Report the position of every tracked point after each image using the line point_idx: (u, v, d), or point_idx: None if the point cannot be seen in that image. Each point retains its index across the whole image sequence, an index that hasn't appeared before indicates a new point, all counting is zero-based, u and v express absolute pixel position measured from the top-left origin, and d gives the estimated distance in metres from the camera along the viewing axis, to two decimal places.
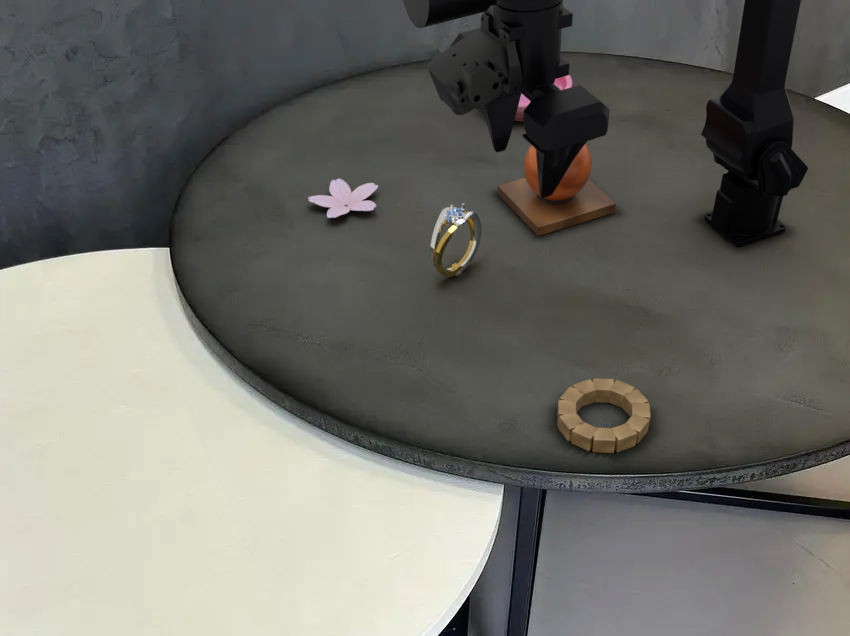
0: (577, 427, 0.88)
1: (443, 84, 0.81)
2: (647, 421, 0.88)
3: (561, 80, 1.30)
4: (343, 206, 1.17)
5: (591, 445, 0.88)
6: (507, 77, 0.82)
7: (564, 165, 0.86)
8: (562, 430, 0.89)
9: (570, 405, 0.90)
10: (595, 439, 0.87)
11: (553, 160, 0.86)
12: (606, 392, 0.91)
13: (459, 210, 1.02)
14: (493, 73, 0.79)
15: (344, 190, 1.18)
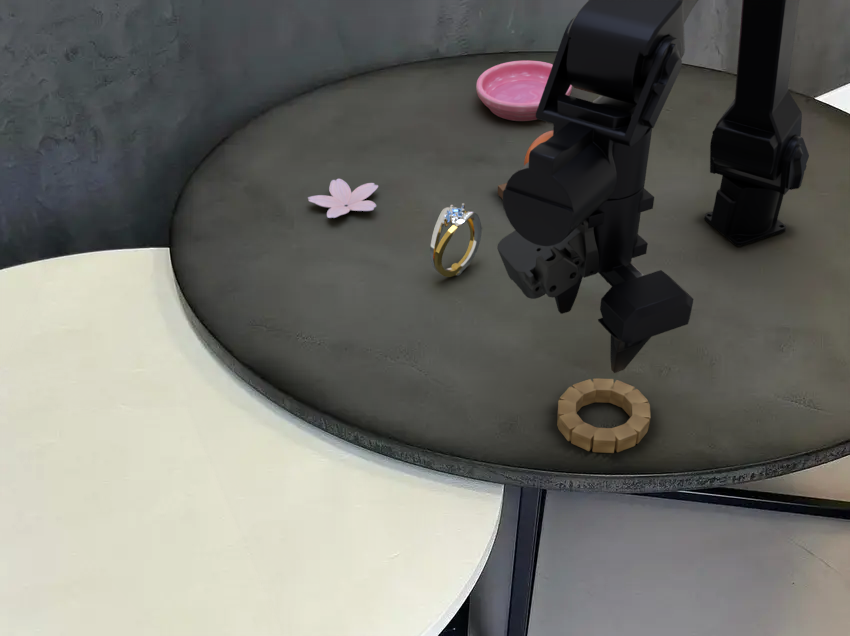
0: (577, 427, 0.88)
1: (516, 271, 0.76)
2: (647, 421, 0.88)
3: None
4: (343, 206, 1.17)
5: (591, 445, 0.88)
6: (583, 262, 0.77)
7: (640, 344, 0.82)
8: (562, 430, 0.89)
9: (570, 405, 0.90)
10: (595, 439, 0.87)
11: None
12: (606, 392, 0.91)
13: (459, 210, 1.02)
14: (571, 264, 0.74)
15: (344, 190, 1.18)
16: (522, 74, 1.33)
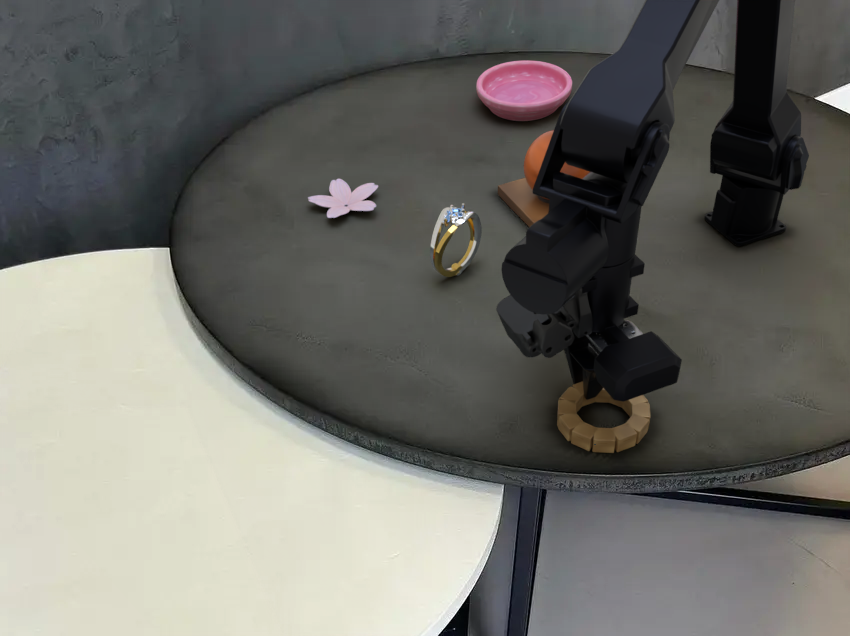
0: (577, 427, 0.88)
1: (514, 332, 0.81)
2: (647, 421, 0.88)
3: (561, 80, 1.30)
4: (343, 206, 1.17)
5: (591, 445, 0.88)
6: (578, 324, 0.81)
7: None
8: (562, 430, 0.89)
9: (570, 405, 0.90)
10: (595, 439, 0.87)
11: None
12: (606, 392, 0.91)
13: (459, 210, 1.02)
14: (566, 327, 0.79)
15: (344, 190, 1.18)
16: (522, 74, 1.33)
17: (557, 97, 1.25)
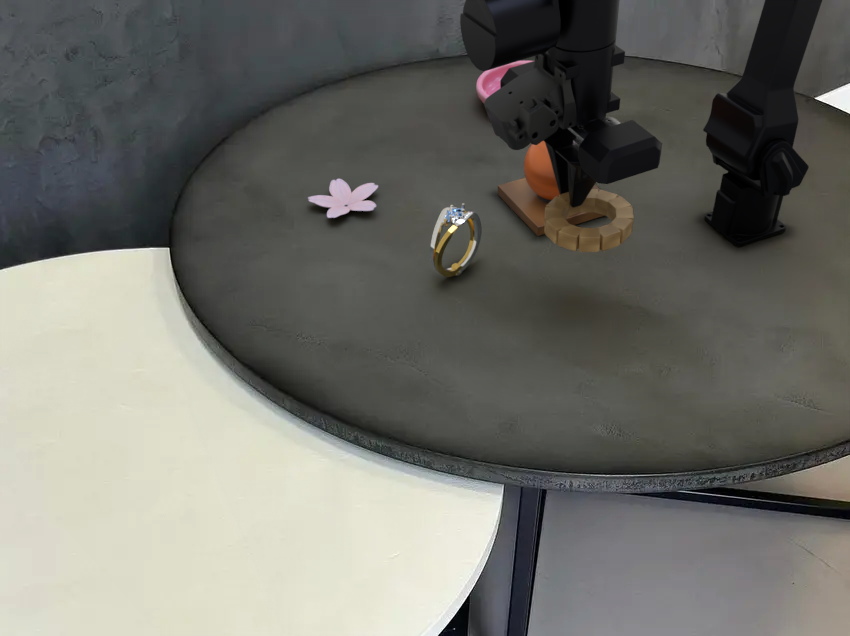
0: (563, 228, 0.92)
1: (501, 121, 0.84)
2: (630, 221, 0.92)
3: None
4: (343, 206, 1.17)
5: (577, 245, 0.91)
6: (562, 113, 0.85)
7: None
8: (549, 234, 0.93)
9: (556, 211, 0.93)
10: (581, 237, 0.90)
11: (584, 172, 0.91)
12: (591, 200, 0.95)
13: (459, 210, 1.02)
14: (551, 111, 0.82)
15: (344, 190, 1.18)
16: None
17: None
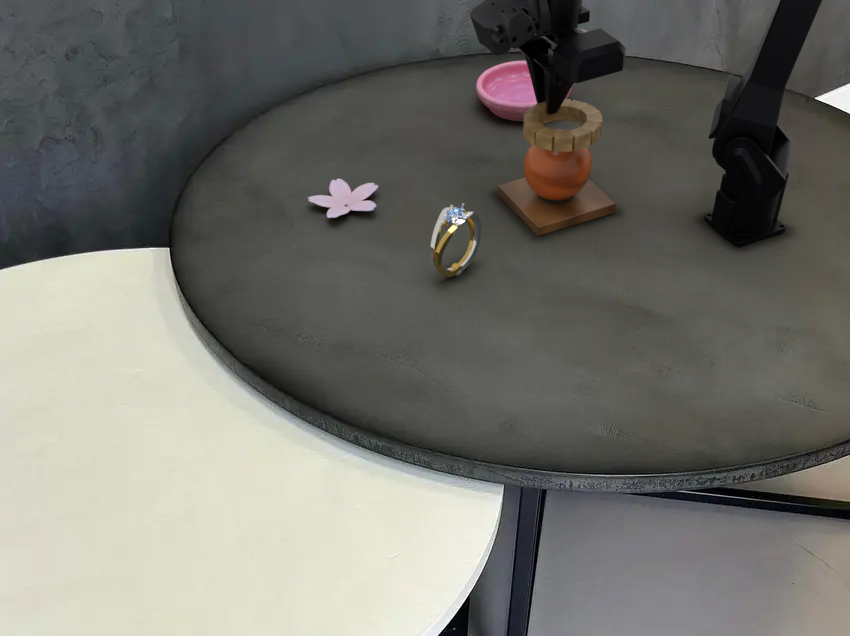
0: (540, 130, 1.03)
1: (485, 28, 0.96)
2: (599, 124, 1.03)
3: None
4: (343, 206, 1.17)
5: (552, 145, 1.03)
6: (538, 22, 0.96)
7: (567, 85, 1.03)
8: (527, 137, 1.04)
9: (534, 117, 1.05)
10: (556, 137, 1.02)
11: (558, 80, 1.03)
12: (565, 108, 1.06)
13: (459, 210, 1.02)
14: (528, 17, 0.94)
15: (344, 190, 1.18)
16: (522, 74, 1.33)
17: None
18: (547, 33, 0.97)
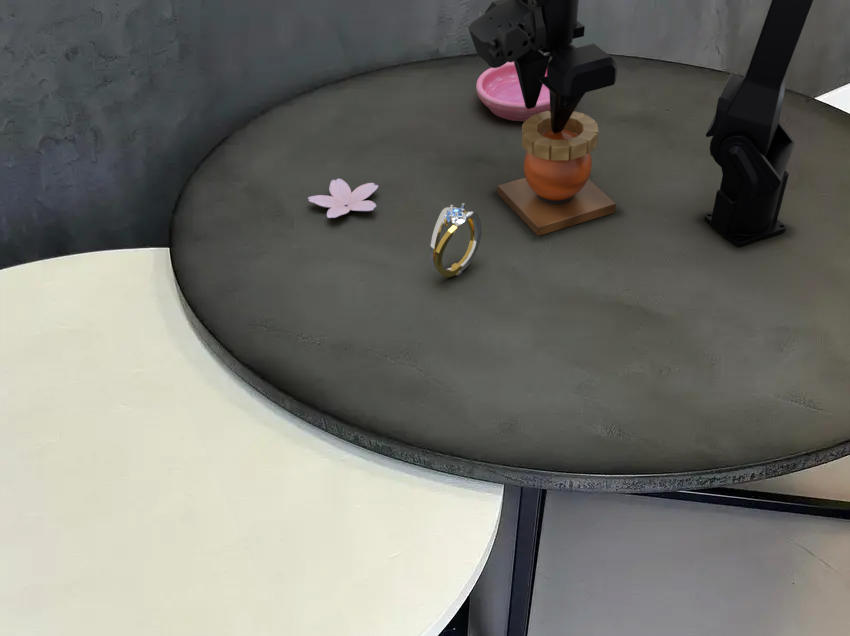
0: (538, 140, 1.06)
1: (482, 42, 0.99)
2: (595, 134, 1.07)
3: None
4: (343, 206, 1.17)
5: (550, 154, 1.06)
6: (534, 36, 1.00)
7: (572, 105, 1.06)
8: (526, 146, 1.08)
9: (532, 127, 1.08)
10: (553, 146, 1.05)
11: (563, 100, 1.05)
12: None
13: (459, 210, 1.02)
14: (523, 32, 0.97)
15: (344, 190, 1.18)
16: None
17: None
18: (542, 47, 1.01)
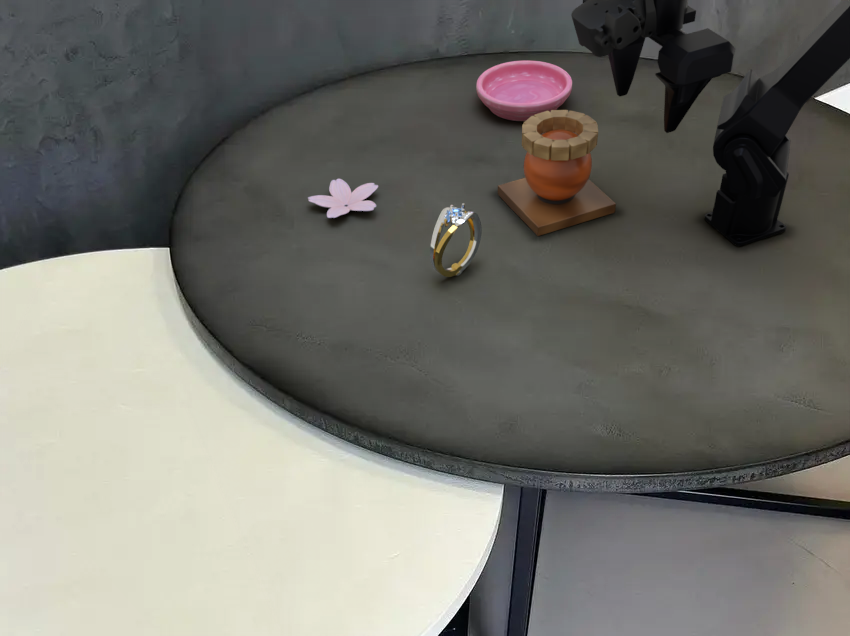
0: (538, 140, 1.06)
1: (588, 29, 0.93)
2: (595, 134, 1.07)
3: (561, 80, 1.30)
4: (343, 206, 1.17)
5: (550, 154, 1.06)
6: (644, 22, 0.93)
7: (689, 102, 0.98)
8: (526, 146, 1.08)
9: (532, 127, 1.08)
10: (553, 146, 1.05)
11: (680, 97, 0.97)
12: (562, 119, 1.10)
13: (459, 210, 1.02)
14: (635, 17, 0.91)
15: (344, 190, 1.18)
16: (522, 74, 1.33)
17: (557, 97, 1.25)
18: (652, 33, 0.94)
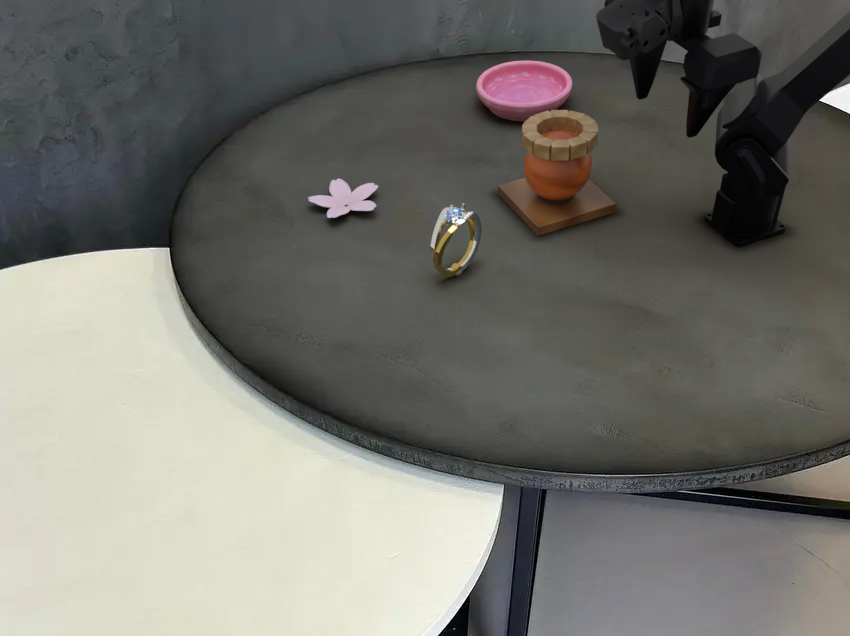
0: (538, 140, 1.06)
1: (614, 31, 0.91)
2: (595, 134, 1.07)
3: (561, 80, 1.30)
4: (343, 206, 1.17)
5: (550, 154, 1.06)
6: (670, 25, 0.92)
7: (712, 107, 0.97)
8: (526, 146, 1.08)
9: (532, 127, 1.08)
10: (553, 146, 1.05)
11: (704, 101, 0.96)
12: (562, 119, 1.10)
13: (459, 210, 1.02)
14: (662, 20, 0.90)
15: (344, 190, 1.18)
16: (522, 74, 1.33)
17: (557, 97, 1.25)
18: (677, 37, 0.93)
